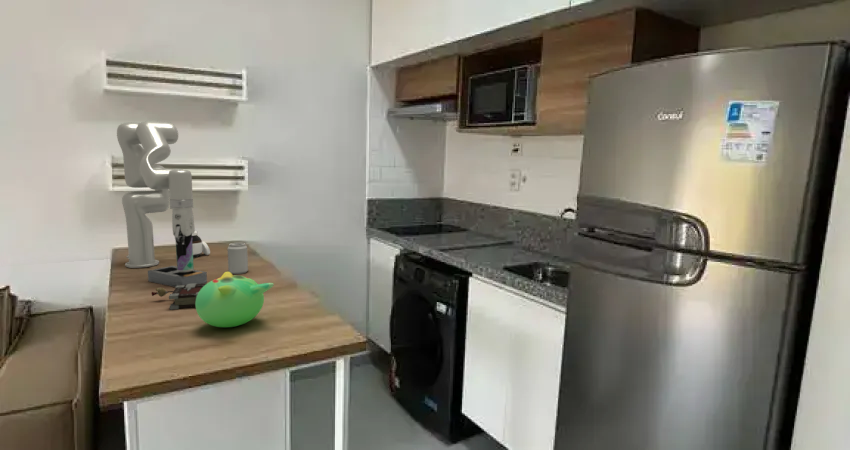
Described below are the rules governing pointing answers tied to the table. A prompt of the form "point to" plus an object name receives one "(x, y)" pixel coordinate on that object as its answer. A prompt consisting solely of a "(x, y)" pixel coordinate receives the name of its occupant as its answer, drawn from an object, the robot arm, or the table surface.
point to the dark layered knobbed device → (182, 295)
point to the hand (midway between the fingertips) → (184, 253)
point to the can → (237, 258)
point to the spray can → (186, 256)
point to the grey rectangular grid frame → (176, 276)
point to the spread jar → (199, 246)
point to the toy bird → (230, 300)
